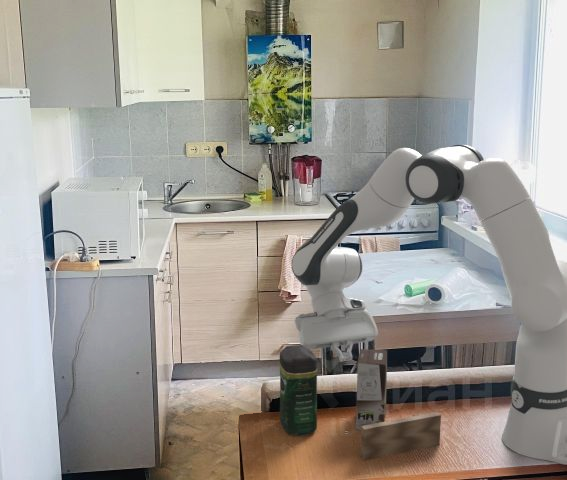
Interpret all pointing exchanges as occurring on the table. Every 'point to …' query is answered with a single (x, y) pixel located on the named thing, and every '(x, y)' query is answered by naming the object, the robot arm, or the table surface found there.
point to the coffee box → (371, 387)
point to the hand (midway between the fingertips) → (346, 360)
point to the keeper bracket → (400, 435)
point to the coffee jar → (298, 390)
